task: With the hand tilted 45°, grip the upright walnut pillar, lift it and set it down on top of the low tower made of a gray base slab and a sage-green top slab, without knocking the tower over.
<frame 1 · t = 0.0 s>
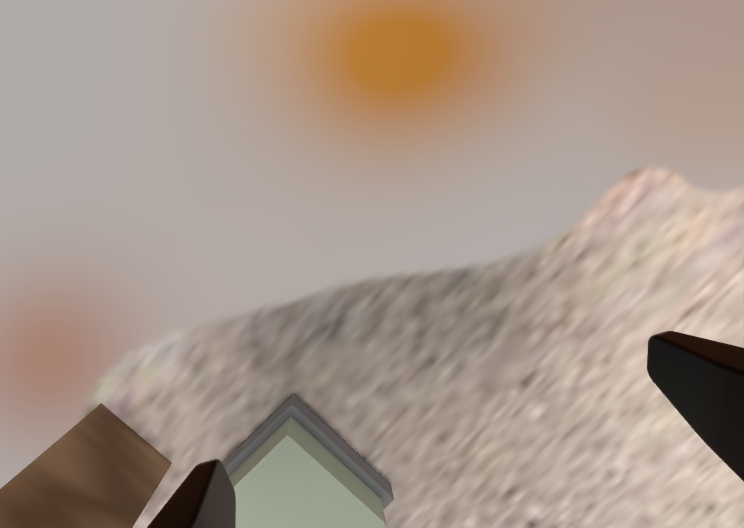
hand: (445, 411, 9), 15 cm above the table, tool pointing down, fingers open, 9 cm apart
sage top slab: (290, 502, 23), point 1 cm above the table, touching gray base slab
gray base slab: (294, 480, 25), on the table, touching sage top slab
walnut pillar: (104, 465, 24), on the table
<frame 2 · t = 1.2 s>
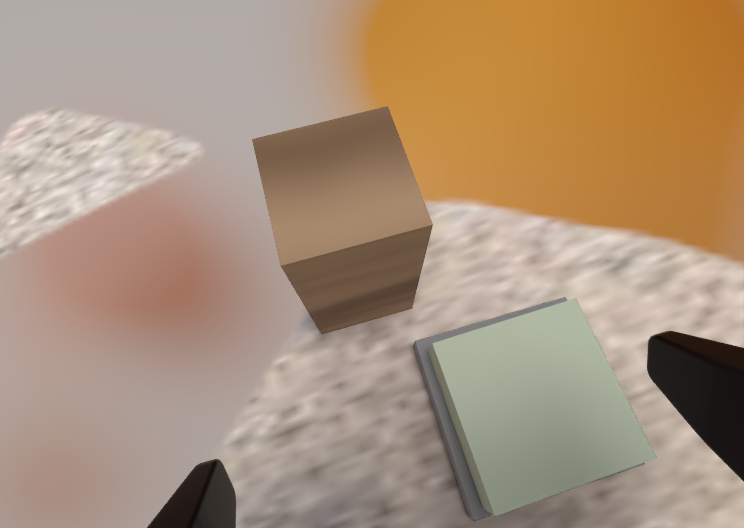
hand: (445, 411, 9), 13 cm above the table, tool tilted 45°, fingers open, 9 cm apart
sage top slab: (524, 401, 20), point 1 cm above the table, touching gray base slab
gray base slab: (511, 402, 22), on the table, touching sage top slab
walnut pillar: (354, 278, 24), on the table
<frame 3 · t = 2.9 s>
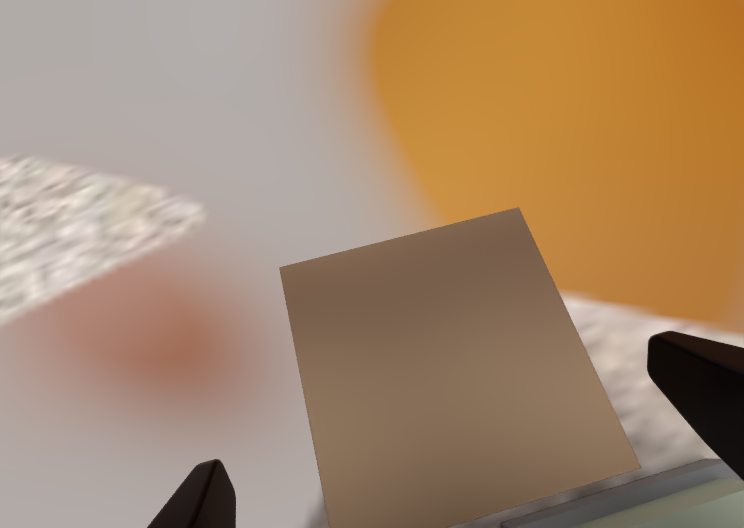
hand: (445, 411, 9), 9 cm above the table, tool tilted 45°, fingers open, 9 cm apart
walnut pillar: (411, 408, 17), on the table
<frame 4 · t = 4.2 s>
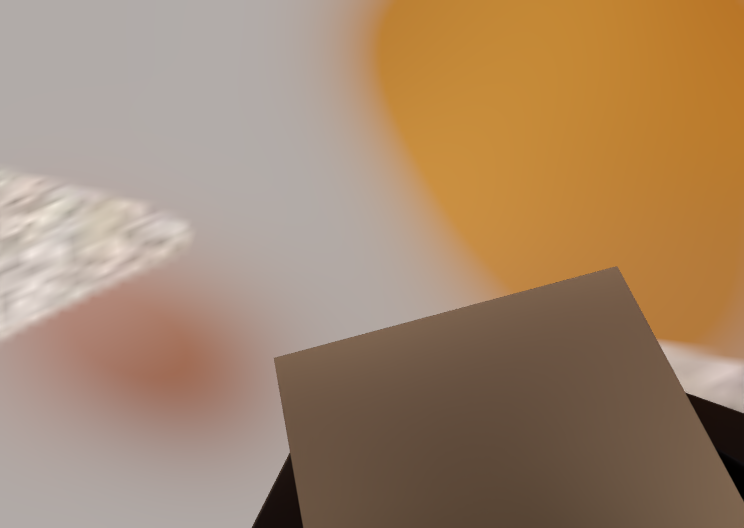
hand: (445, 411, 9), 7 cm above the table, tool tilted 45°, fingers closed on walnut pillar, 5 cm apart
walnut pillar: (433, 469, 14), on the table, touching gripper
when the fingers open (11 cm above the table, at t = 8.2 s): walnut pillar drops 2 cm, resting on sage top slab.
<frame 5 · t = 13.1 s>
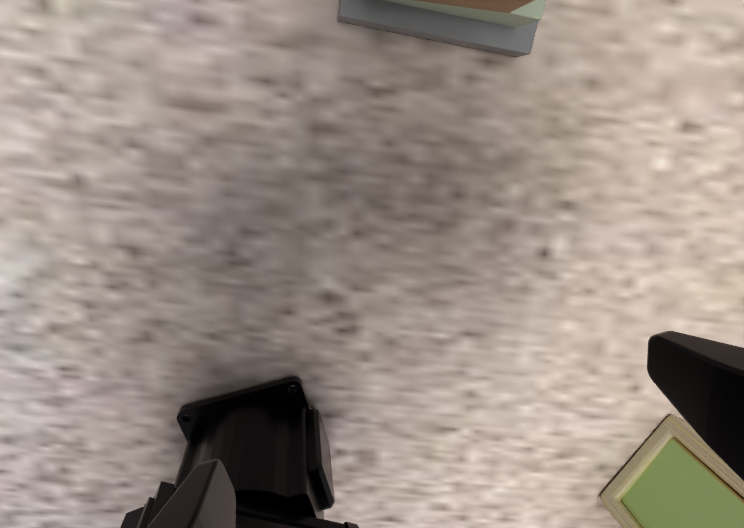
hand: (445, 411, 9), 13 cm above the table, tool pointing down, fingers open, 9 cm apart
toy refrigerator: (657, 463, 30), on the table
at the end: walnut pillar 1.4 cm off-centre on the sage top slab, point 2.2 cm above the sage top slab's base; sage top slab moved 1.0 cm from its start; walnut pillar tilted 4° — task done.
